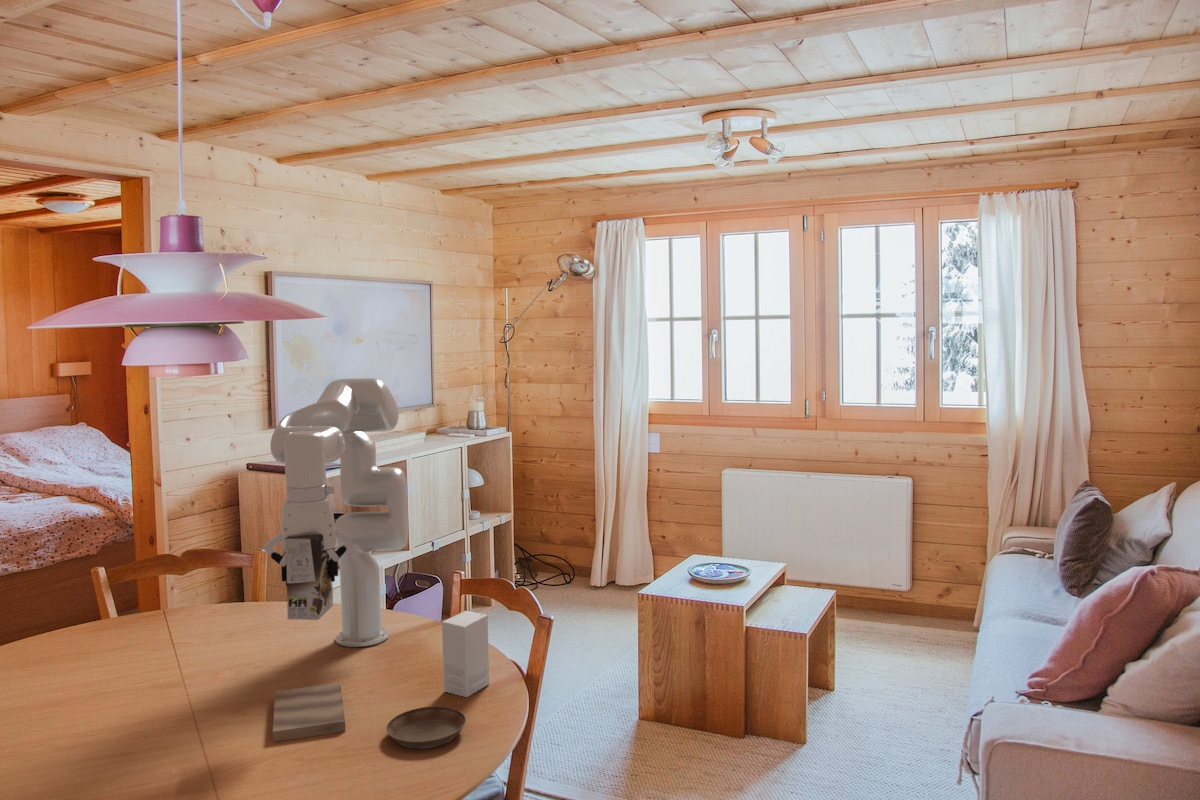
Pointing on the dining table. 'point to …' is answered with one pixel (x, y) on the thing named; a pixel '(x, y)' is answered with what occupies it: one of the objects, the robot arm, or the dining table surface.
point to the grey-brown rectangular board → (308, 712)
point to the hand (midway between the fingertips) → (310, 581)
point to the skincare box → (465, 653)
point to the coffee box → (308, 577)
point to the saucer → (426, 727)
